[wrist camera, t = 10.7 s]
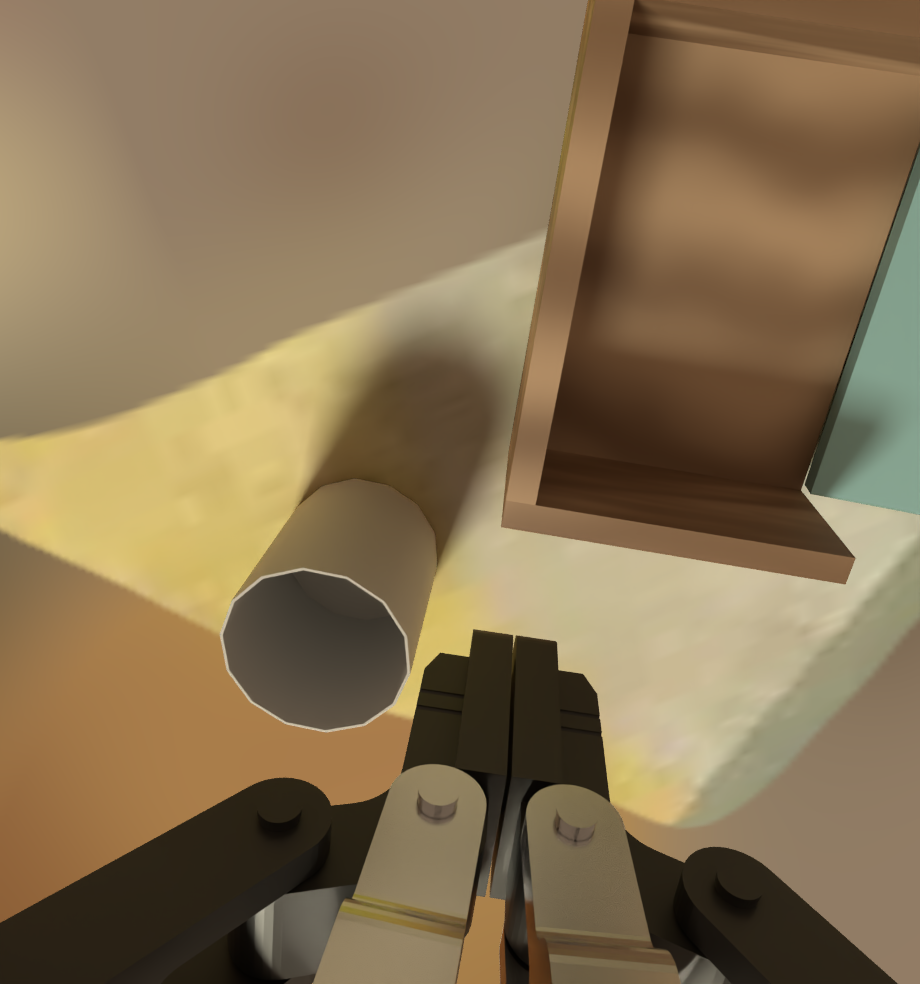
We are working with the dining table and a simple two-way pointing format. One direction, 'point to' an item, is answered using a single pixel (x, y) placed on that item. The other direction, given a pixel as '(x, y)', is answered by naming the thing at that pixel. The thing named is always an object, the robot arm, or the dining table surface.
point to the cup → (334, 608)
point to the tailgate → (880, 384)
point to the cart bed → (710, 272)
